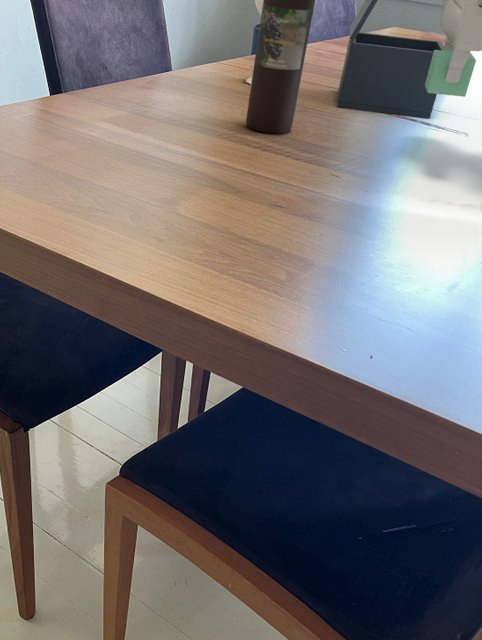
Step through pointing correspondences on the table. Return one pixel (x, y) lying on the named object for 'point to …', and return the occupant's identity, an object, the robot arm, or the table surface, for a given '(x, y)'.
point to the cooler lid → (361, 18)
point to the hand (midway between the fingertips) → (448, 77)
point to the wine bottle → (278, 64)
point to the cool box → (388, 75)
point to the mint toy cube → (438, 70)
